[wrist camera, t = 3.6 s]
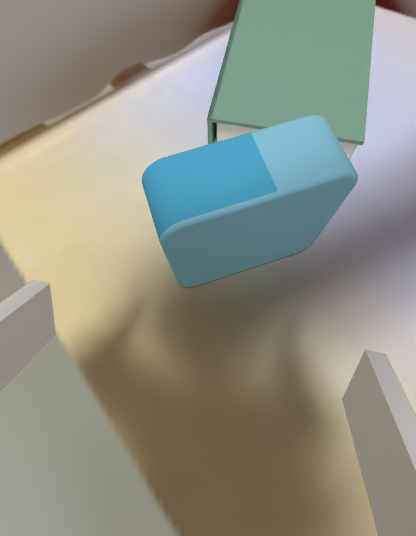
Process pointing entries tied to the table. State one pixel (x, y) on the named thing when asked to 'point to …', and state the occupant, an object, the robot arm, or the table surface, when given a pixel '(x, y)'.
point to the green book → (295, 68)
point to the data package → (247, 198)
